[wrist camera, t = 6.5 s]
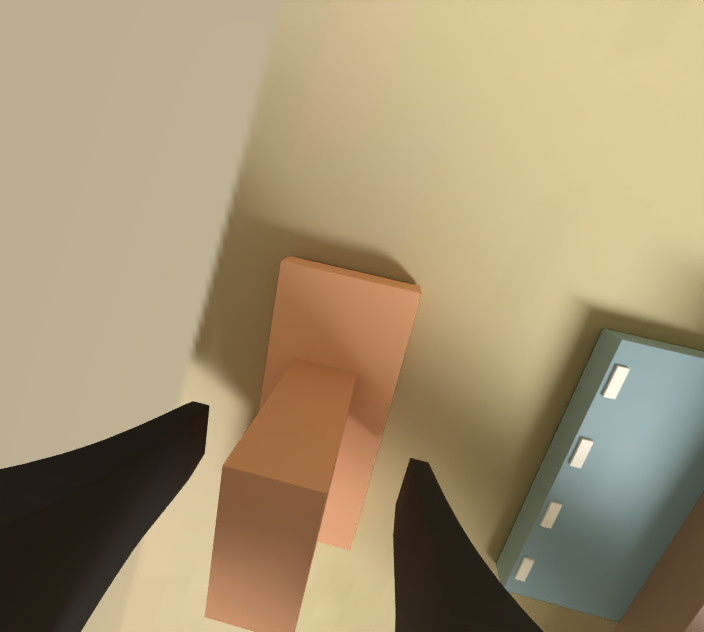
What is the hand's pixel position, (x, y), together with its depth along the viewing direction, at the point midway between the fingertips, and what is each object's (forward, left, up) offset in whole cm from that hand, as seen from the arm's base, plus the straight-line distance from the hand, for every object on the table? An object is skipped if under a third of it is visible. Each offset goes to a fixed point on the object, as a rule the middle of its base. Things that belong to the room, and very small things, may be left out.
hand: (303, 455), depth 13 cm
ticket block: (-14, 0, -3) cm, 15 cm away
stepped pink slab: (0, 0, -3) cm, 3 cm away
